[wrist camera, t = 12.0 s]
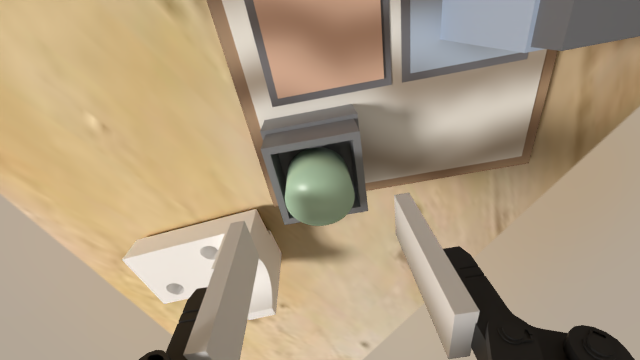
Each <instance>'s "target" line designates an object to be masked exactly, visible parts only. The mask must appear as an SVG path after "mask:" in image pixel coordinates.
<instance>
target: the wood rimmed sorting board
mask: <svg viewBox="0 0 640 360" xmlns="http://www.w3.org/2000/svg"><path fill="white" fill-rule="evenodd" d="M207 3H208V6H209V9H210V12H211V15H212V18H213V21H214V25H215V28H216V31H217V34H218V37H219V40H220V43H221V46H222V49H223V52H224V55H225V58H226V61H227V64H228V67H229V70H230V73H231V76H232V79H233V83H234V86H235V89H236V92H237V95H238V98H239V101H240V104H241V107H242V110H243V113H244V116H245V119H246V122H247V125H248V128H249V131H250V134H251V138H252V141H253V144H254V147H255V150H256V153H257V156H258V159H259V162H260V165H261V168H262V171H263V174H264V177H265V180H266V183H267V186H268V189H269V192H270V196H271V199H272V202H273V205H274V207H275V206H278V203H277V200H276V197H275V193H274V190H273V187H272V184H271V181H270V178H269V174H268V171H267V168H266V165H265V162H264V159H263V155H262V152H261V146H262V143H263V139H262V136H261V133H260V131H261V128H262V125H263V123H264V120H268V119H273V118H279V117H284V116H289V115H295V114H300V113H305V112H311V111H316V110H321V109H327V108H332V107H337V106H343V105H348V104H353V106H354V108H355V110H356V112H357V114H358V123H359V130H360V137H361V147H362V157H363V166H364V176H365V186H366V191H368V190H374V189H380V188H386V187H392V186H398V185H403V184H409V183H415V182H421V181H427V180H433V179H438V178H444V177H450V176H456V175H462V174H468V173H473V172H479V171H485V170H491V169H497V168H503V167H509V166H514V165H520V164H526V163H529V160H530V156H531V153H532V149H533V145H534V141H535V137H536V133H537V129H538V125H539V122H540V118H541V114H542V110H543V106H544V102H545V98H546V94H547V91H548V87H549V83H550V79H551V75H552V71H553V67H554V63H555V60H556V56H557V52H558V50H550V49H543V50H538V51H533V52H527V53H521V52H515V51H509V50H503V49H496V48H490V47H484V46H478V45H471V44H465V43H459V42H453V41H446V40H440V38H441V18H442V0H207Z"/></svg>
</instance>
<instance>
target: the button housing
mask: <svg viewBox="0 0 640 360" xmlns="http://www.w3.org/2000/svg"><path fill="white" fill-rule="evenodd" d="M260 133H261V136H262V139H263V143H262V146H261V152H262V155H263V159H264V162H265V165H266V168H267V171H268V174H269V178H270V181H271V184H272V187H273V190H274V193H275V197H276V200H277V203H278V206H279V209H280V212H281V215H282V219H283V222H284V225H287V224H293V223H299V222H300V221H299V220H297V219H296V218H294V217H293V216H292V215H291V214H290V212H289V211H288V209H287V207H286V203H285V191H286V182H287V173H288V168H289V165H290V163H291V161H292V160H293V159H294V157H295V156H296V155H298V154H299V153H300V152H302V151H304V150H307V149H310V148H316V147H321V148H327V149H330V150H333V151H335V152H336V153H338V154H339V155H340V156H341V157H342V158H343V159H344V161H345V162H346V165H347V168H348V171H349V175H350V178H351V182H352V185H353V189H354V193H355V199H354V204H353V206H352V208H351V210H350V211H349V213H348V214H352V213H358V212H364V211H368V205H367V196H366V186H365V176H364V166H363V157H362V147H361V137H360V130H359V123H358V114H357V112H356V110H355V108H354V106H353V104H348V105H343V106H337V107H332V108H327V109H321V110H316V111H311V112H305V113H300V114H295V115H289V116H284V117H279V118H273V119H268V120H264V123H263V125H262V128H261V131H260Z"/></svg>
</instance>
